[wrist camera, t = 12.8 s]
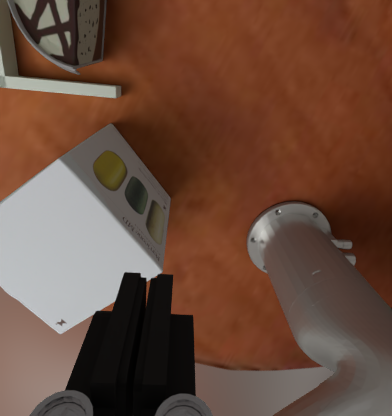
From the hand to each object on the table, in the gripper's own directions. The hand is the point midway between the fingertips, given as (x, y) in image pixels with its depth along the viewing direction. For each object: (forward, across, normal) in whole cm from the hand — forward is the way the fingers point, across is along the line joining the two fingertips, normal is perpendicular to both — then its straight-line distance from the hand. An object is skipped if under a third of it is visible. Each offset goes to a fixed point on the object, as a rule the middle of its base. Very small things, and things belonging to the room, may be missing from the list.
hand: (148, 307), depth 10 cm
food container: (+31, +12, -13) cm, 36 cm away
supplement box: (+31, +9, +8) cm, 34 cm away
